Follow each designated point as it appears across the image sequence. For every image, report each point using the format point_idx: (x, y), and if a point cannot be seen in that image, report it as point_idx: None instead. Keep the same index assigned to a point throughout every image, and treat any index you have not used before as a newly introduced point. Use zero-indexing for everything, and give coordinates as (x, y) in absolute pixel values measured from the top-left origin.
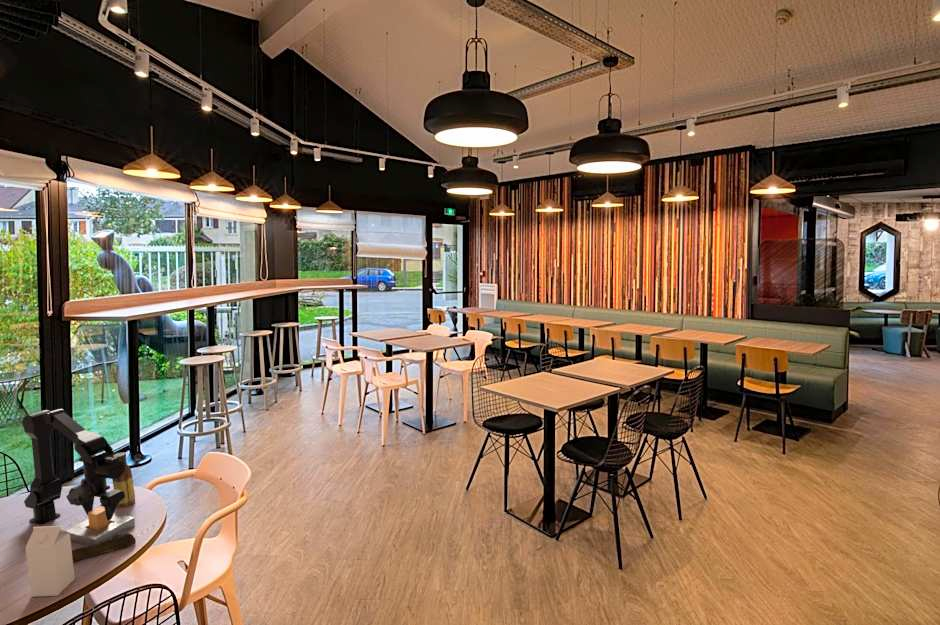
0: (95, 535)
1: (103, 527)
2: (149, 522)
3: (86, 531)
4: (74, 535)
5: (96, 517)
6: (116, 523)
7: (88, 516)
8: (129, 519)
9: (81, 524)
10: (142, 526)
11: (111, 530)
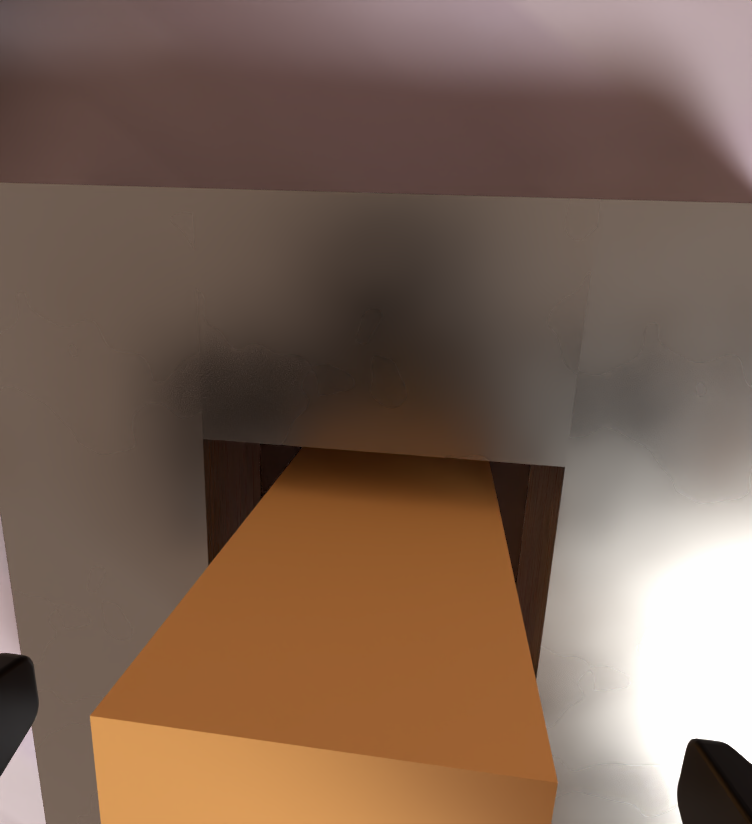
0: (67, 293)
1: (204, 543)
2: (39, 813)
3: (378, 358)
4: (528, 200)
5: (157, 642)
6: None
7: (527, 666)
8: (59, 801)
9: (735, 536)
10: (28, 739)
11: (7, 507)
